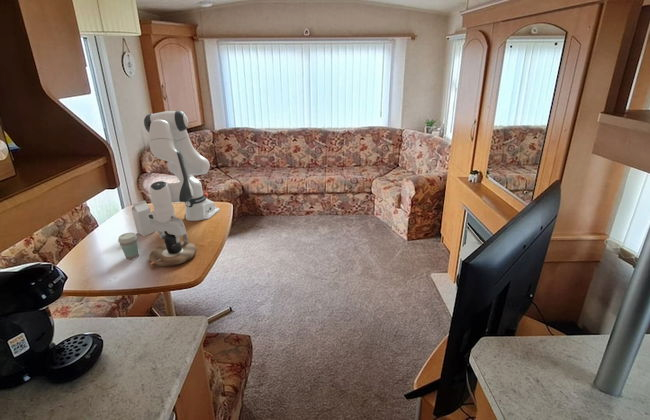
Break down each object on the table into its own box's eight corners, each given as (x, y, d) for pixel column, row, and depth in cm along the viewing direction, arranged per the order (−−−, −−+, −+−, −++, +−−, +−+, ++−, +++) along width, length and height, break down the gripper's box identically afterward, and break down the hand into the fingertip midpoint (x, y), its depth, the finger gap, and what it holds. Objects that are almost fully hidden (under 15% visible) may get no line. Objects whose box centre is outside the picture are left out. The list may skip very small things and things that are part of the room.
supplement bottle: (177, 254, 179) (170, 231, 175) (165, 254, 180) (158, 232, 176) (185, 247, 185) (178, 226, 181) (173, 248, 186) (166, 227, 182)
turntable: (173, 241, 197) (170, 228, 194) (205, 248, 189) (203, 235, 186) (139, 260, 179) (136, 247, 176) (173, 270, 170) (170, 255, 167)
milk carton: (155, 231, 211) (148, 201, 204) (143, 236, 206) (136, 205, 198) (149, 228, 215) (142, 198, 208) (137, 233, 210) (129, 202, 202)
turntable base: (173, 245, 195) (172, 239, 194) (199, 251, 188) (198, 245, 187) (138, 266, 176) (137, 260, 175) (166, 274, 170) (165, 267, 168)
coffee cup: (133, 251, 190) (127, 230, 186) (145, 254, 187) (140, 233, 183) (119, 259, 183) (113, 238, 178) (131, 262, 180) (125, 241, 175)
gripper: (186, 215, 174) (191, 241, 180) (154, 209, 182) (160, 234, 187) (176, 221, 169) (181, 247, 174) (144, 214, 176) (150, 239, 182)
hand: (170, 240), depth 181 cm, fingers open, 8 cm apart
